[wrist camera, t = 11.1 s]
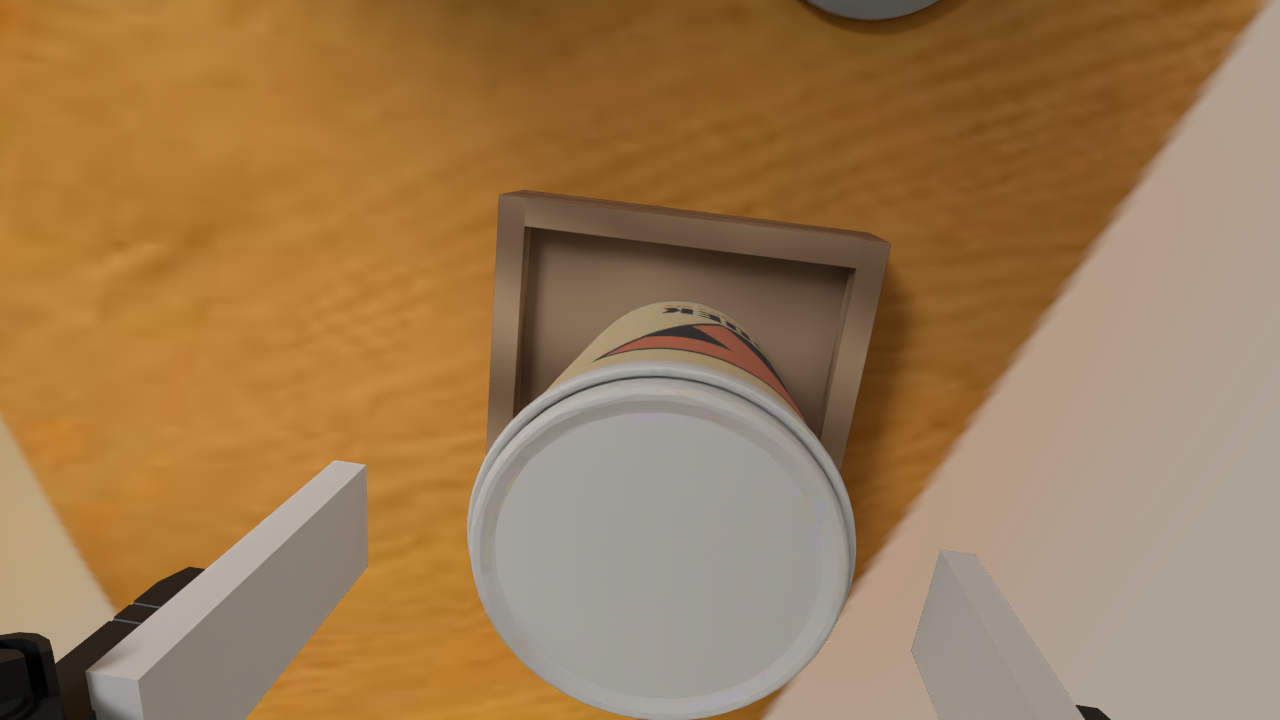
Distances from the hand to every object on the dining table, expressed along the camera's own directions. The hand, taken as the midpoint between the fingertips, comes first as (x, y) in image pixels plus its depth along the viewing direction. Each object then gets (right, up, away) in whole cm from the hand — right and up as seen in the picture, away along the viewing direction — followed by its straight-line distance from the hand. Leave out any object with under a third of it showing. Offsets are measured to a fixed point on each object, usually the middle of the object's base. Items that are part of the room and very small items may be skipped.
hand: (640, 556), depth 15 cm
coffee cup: (+1, +3, +12) cm, 12 cm away
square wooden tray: (+1, +4, +14) cm, 15 cm away
